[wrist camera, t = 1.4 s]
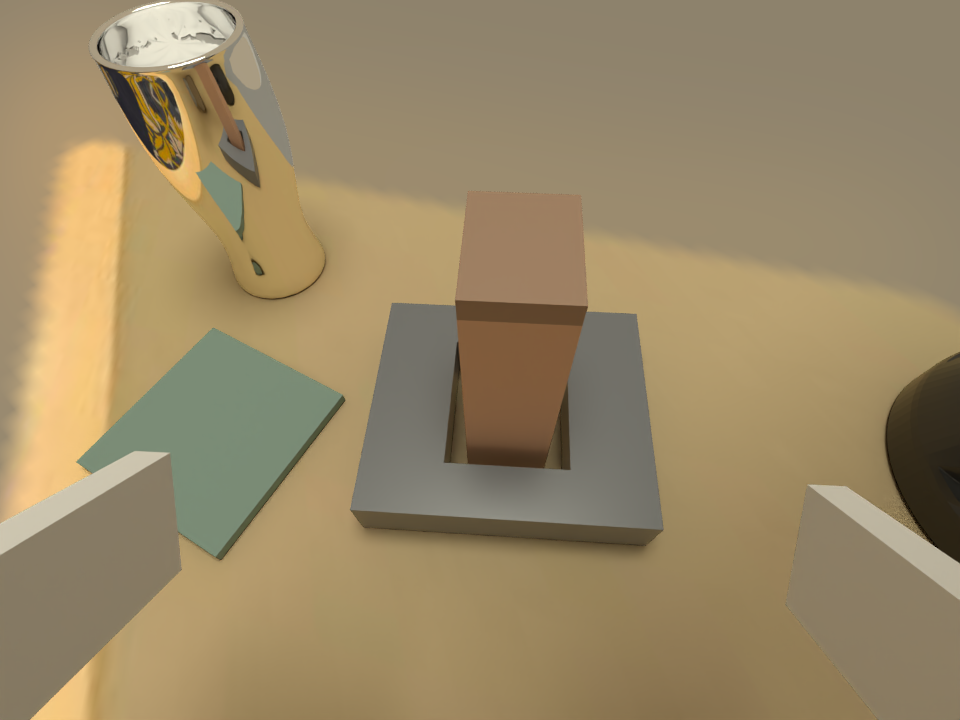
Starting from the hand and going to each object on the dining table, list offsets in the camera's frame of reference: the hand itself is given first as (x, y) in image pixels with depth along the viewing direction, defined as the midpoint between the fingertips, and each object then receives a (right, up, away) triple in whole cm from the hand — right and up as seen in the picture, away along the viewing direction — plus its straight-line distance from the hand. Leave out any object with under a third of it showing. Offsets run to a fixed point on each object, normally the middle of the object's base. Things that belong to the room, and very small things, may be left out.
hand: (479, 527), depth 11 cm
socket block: (+2, 0, +18) cm, 18 cm away
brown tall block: (+2, 0, +18) cm, 18 cm away
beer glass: (-14, +10, +25) cm, 30 cm away
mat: (-15, 0, +18) cm, 23 cm away
